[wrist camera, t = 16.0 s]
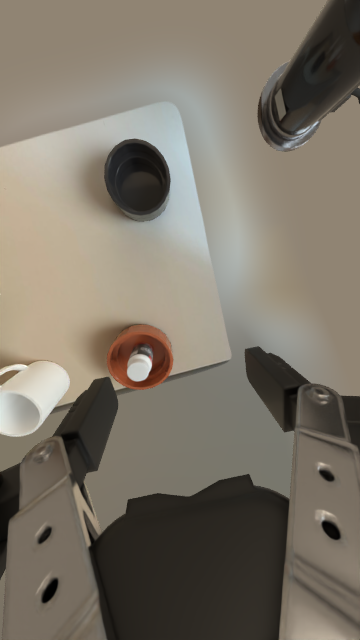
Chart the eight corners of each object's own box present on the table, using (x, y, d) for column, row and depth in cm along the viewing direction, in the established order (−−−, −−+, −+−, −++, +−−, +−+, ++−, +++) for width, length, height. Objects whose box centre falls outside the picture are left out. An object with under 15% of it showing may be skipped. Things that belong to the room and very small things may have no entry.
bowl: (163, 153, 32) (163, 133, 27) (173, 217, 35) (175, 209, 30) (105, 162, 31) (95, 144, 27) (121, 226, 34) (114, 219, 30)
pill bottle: (157, 351, 42) (156, 372, 34) (143, 364, 42) (138, 387, 34) (142, 337, 40) (138, 355, 32) (127, 351, 41) (119, 372, 33)
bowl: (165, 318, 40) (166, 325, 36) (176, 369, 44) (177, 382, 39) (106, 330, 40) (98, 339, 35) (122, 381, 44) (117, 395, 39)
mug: (78, 388, 43) (54, 424, 33) (40, 403, 43) (5, 444, 34) (47, 343, 39) (9, 369, 30) (5, 360, 40) (-46, 392, 30)
